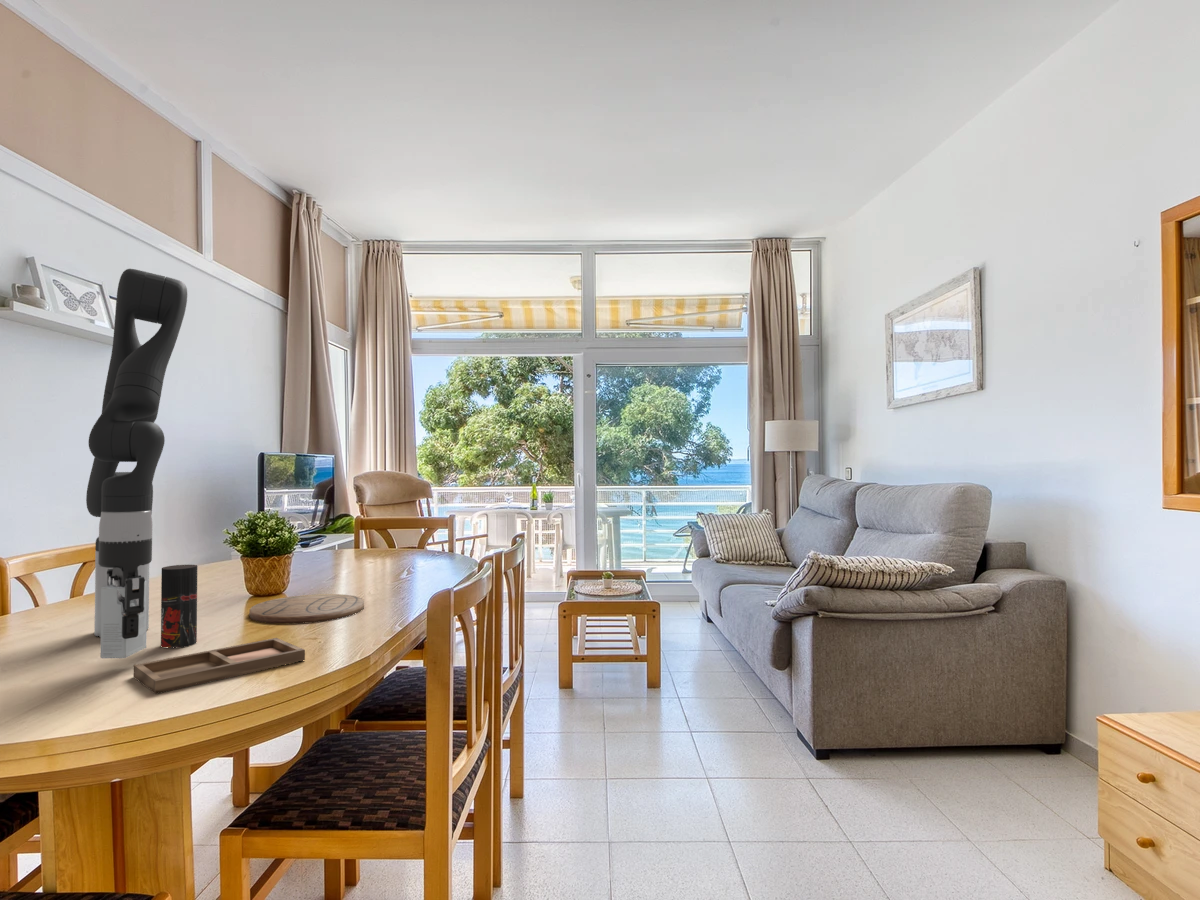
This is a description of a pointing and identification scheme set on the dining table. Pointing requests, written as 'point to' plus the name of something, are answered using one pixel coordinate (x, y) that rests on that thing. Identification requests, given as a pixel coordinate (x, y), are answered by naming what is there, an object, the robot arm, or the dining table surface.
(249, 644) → the two-section desk tray
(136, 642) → the skincare box
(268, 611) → the trivet
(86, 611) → the dining table surface
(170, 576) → the deodorant
